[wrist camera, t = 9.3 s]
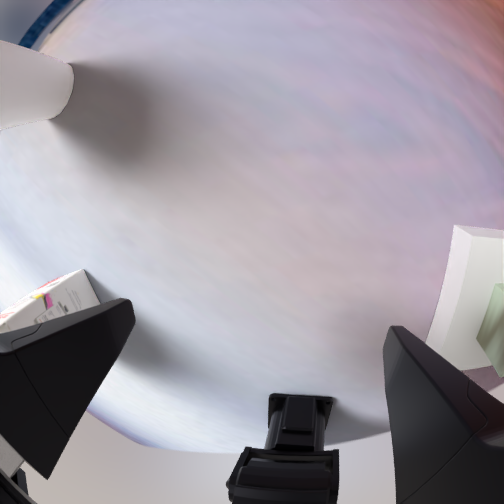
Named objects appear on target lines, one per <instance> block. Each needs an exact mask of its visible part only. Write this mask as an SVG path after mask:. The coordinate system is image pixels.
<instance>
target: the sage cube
mask: <svg viewBox="0 0 504 504" xmlns="http://www.w3.org/2000/svg"><path fill="white" fill-rule="evenodd" d="M476 340H477V341H478V343H479V344H480V346H481V347H482V349H483V350H484V352H485V354H486V355H487V357H488V358H489V360H490V362H491V363H492V365H493V367H494V368H495V370H496V372H497V374H498V375H499V377H504V283H495V285H494V288H493V292H492V295H491V298H490V301H489V304H488V307H487V310H486V313H485V316H484V319H483V322H482V324H481V327H480V330H479V332H478V335H477V337H476Z"/></svg>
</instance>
